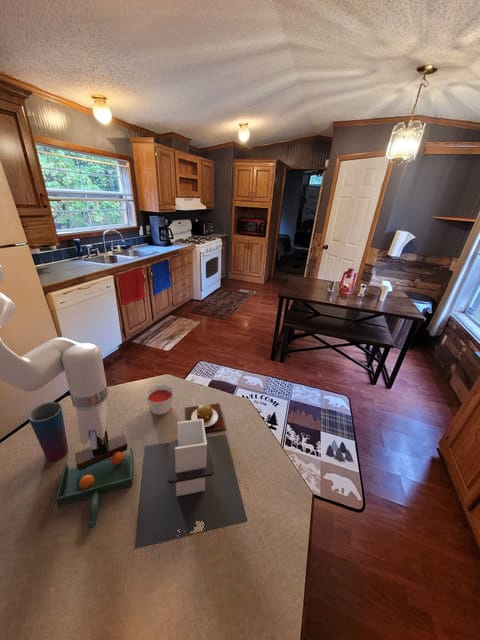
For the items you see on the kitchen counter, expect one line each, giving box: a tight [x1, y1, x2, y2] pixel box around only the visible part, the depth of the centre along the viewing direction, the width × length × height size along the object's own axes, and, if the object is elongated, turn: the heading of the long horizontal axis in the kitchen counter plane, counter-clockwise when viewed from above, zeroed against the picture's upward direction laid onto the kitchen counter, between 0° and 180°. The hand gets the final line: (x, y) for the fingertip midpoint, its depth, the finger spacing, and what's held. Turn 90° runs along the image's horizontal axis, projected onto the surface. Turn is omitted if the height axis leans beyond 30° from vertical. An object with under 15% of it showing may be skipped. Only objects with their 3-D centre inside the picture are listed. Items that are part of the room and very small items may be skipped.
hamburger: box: [184, 403, 227, 434], centre depth 84 cm, size 12×12×6 cm
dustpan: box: [55, 447, 134, 530], centre depth 61 cm, size 17×16×3 cm
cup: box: [27, 401, 69, 462], centre depth 67 cm, size 7×7×15 cm
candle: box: [145, 384, 175, 416], centre depth 87 cm, size 9×9×6 cm
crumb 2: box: [110, 452, 125, 465], centre depth 68 cm, size 3×3×3 cm
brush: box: [74, 433, 129, 471], centre depth 67 cm, size 4×12×8 cm, turn 125°
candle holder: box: [134, 419, 248, 549], centre depth 63 cm, size 25×24×16 cm
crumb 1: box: [79, 475, 94, 490], centre depth 62 cm, size 3×3×3 cm
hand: (101, 447), depth 68 cm, fingers closed on brush, 2 cm apart
